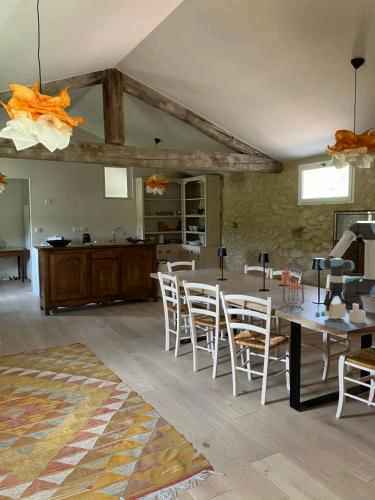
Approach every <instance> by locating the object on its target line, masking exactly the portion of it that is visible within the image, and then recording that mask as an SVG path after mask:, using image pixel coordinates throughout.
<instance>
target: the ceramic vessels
mask: <svg viewBox="0 0 375 500" xmlns="http://www.w3.org/2000/svg"><path fill="white" fill-rule="evenodd" d="M282 270H283V269H282ZM282 270H280V271H281V275H280V277H281V281H280V285H282V286H288V287H287V289H289V279H288V280H286V283H285V282H284V273H283V272H284V271H285V270H286V269H285V270H283V271H282ZM287 270H288V269H287ZM289 272H291V271H289ZM289 272H288V274H285V278H288V277H289V278H290V279H292V272H291V273H289ZM285 273H287V272H286V271H285ZM286 275H288V276H287V277H286ZM295 280H296V281H294V283H292V287H291V281H290V290H294V284H295V290H297V279H295ZM302 289H303V290H304V289H305V287H304V286H303V285H300V284H299V283H298V290H302Z"/></svg>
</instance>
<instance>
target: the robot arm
mask: <svg viewBox="0 0 375 500" xmlns="http://www.w3.org/2000/svg"><path fill="white" fill-rule="evenodd" d="M357 238H362V241H363V242H364V275H363V276H347V277H345V278H344V274H343V273H346V272H347V273H348V272H352V271H354V269H355V263H354V262H353V260H347V259H346V260H344V259H343V258H341V257H343V255H344V254H345V253H346V251H347V250H348V248H349V247H350V246H351V244H352V243H353V241H356V239H357ZM319 267H320V269H322V270H325V271H330V284H329V285H330V287H329V288H330V289H329V290H327V289H326V290H325V297H324V301H323V305H324V306H325V305H326V311H327V316H326V317H328V316H329V317H328V318H330V316H331V307H330V304H331V302H333V301H334V298H335V297H338V298H339V302H341V303H344V304H346V306H345V310H346V309H348V310H353V304H354V303H360V304H362V305H363V309H364V305H365V304H364V303H363V302H364V301H363V299H362V296H367V297H371V298H375V220H357V221H354V222H353V223H351V224H350V225H349V226H348V227H346V229H345V230H344V231H343V233H342V236H341V238H340V239H339V241H338V242H337V244H336V245H335V246H334V247H333V249H332V251H331V252H330V253H329V254H328V256H327V257H326V258H322V259H321V260H319ZM343 281H344V289H343Z"/></svg>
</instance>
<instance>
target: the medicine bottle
mask: <svg viewBox="0 0 375 500" xmlns="http://www.w3.org/2000/svg"><path fill="white" fill-rule="evenodd" d="M363 305H364V304H363ZM363 305H362V304H360V303H354V304H353V309H349V312H348V321H349V322H350V323H353V324H364V323H366V317H367V316H366V314H367V313H366V311H365V310H363V309H364V308H363Z"/></svg>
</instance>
